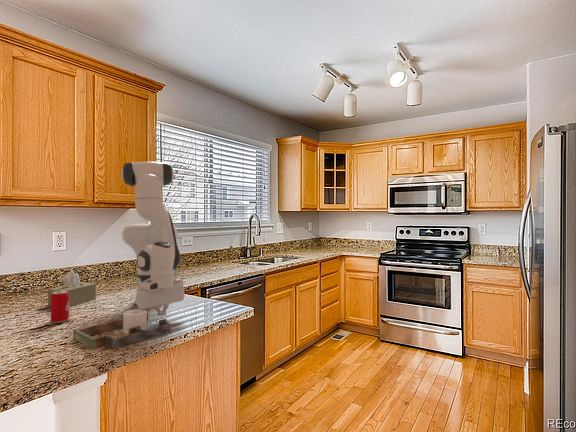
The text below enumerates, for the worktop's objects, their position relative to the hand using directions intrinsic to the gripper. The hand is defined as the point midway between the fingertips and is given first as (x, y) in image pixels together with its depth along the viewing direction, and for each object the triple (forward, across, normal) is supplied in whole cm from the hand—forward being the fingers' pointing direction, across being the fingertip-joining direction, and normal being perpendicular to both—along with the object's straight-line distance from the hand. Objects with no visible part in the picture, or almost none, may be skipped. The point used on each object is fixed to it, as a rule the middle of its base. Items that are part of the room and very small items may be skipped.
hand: (161, 315), depth 144 cm
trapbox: (+3, +16, +3) cm, 17 cm away
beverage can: (+3, +25, -32) cm, 41 cm away
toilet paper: (+3, +10, 0) cm, 11 cm away
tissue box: (+3, +9, -59) cm, 60 cm away
